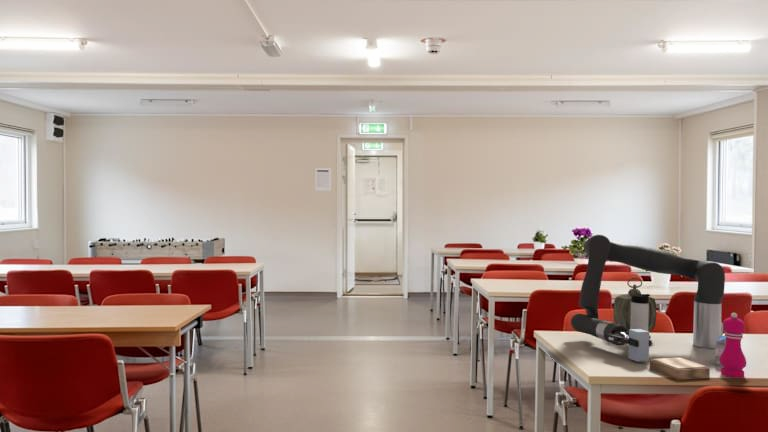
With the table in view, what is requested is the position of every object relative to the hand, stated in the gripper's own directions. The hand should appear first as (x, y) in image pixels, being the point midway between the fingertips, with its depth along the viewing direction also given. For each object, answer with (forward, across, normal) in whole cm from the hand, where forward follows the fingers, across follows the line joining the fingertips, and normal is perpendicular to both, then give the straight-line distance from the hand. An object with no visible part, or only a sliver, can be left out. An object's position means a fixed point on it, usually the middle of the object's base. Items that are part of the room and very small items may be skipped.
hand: (644, 343), depth 185 cm
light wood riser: (+11, +4, +7) cm, 14 cm away
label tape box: (+4, +29, +7) cm, 30 cm away
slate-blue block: (-3, 0, +6) cm, 7 cm away
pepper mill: (+16, +20, +7) cm, 27 cm away
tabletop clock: (-35, +24, +7) cm, 43 cm away
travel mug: (-24, +18, +7) cm, 31 cm away
